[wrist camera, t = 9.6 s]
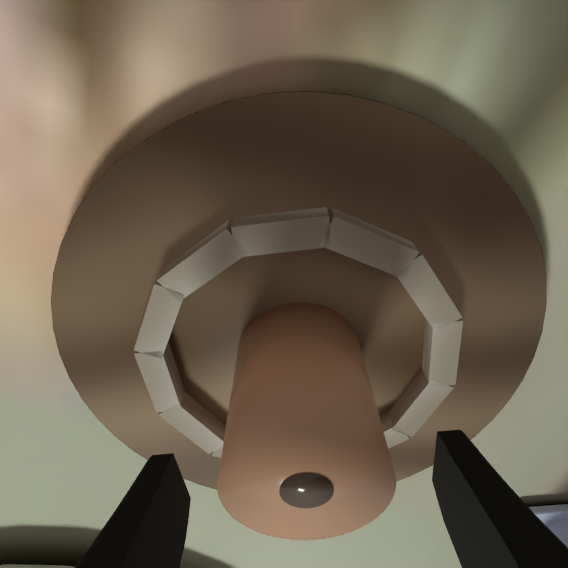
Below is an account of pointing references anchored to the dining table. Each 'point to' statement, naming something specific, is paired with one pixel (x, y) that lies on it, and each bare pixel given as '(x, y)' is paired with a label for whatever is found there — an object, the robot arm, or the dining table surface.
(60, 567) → the plated food
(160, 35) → the dining table surface
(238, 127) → the ring board
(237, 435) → the terracotta bead
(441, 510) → the robot arm
